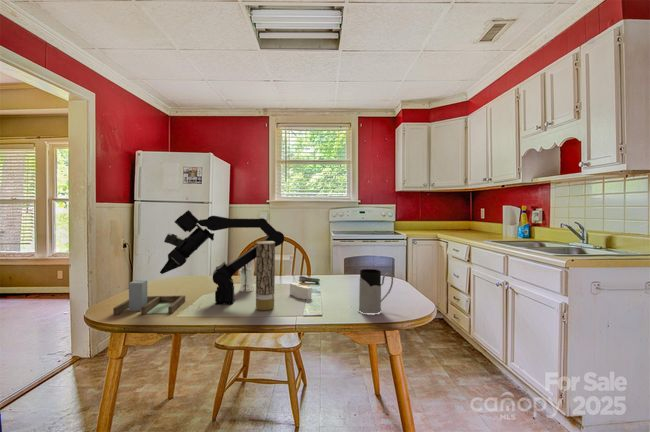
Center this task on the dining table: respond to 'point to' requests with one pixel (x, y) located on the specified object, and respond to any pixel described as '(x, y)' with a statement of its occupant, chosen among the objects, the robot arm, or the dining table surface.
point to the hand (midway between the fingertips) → (162, 270)
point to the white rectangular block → (300, 291)
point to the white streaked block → (247, 276)
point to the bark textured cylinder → (265, 275)
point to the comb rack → (155, 305)
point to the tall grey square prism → (137, 294)
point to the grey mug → (371, 290)
